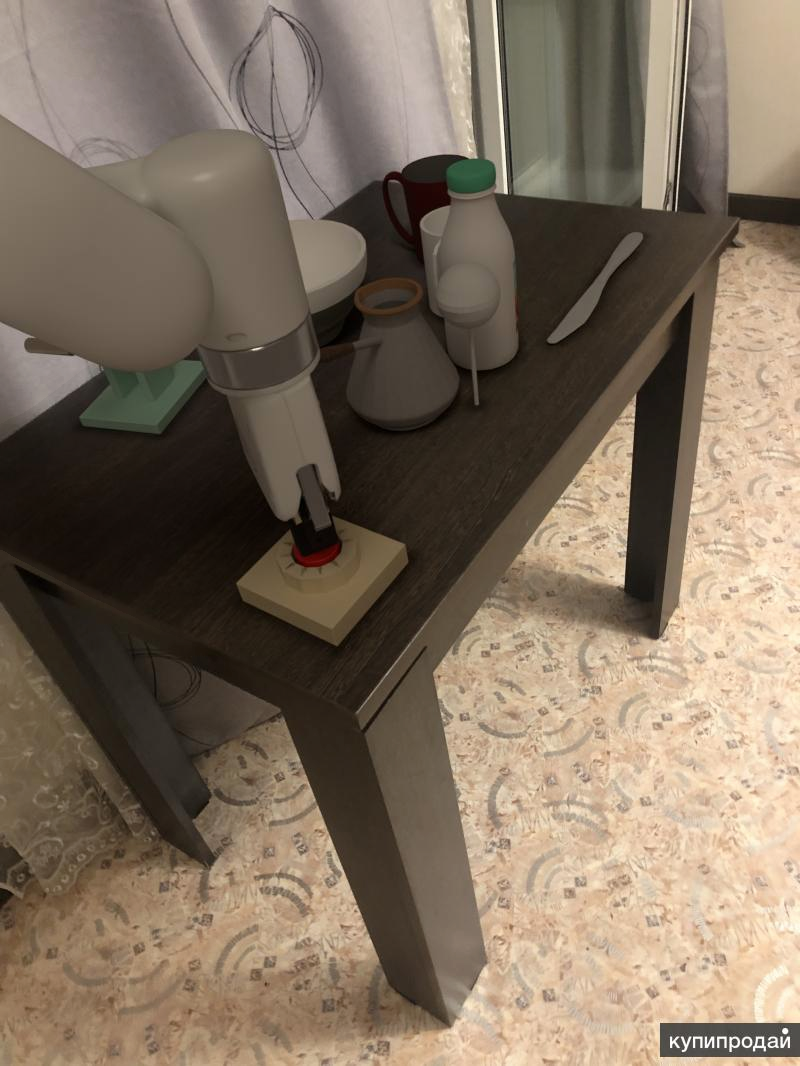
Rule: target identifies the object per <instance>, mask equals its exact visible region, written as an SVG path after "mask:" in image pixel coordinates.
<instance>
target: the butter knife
mask: <svg viewBox="0 0 800 1066" xmlns="http://www.w3.org/2000/svg"><path fill="white" fill-rule="evenodd" d="M643 239H644V235H643V233H642V232H640V231H632V232H630V233H628V234H627V235H626V236H625V237H623V238H622V240H620V243H619V244H618V245H617V247H616V248H615V249H614V251H613V252H612V253H611V255H610V258H609V259H608V261H607V263H606V264H605V265H604V267H603V269H602V270H601V271H600V273H599V274H598V276H597V277H596V278H595V280H594V281H593V283H592V284H591V285H590V286H589V287H588V288H587V290H586V291H585V292H584V293H583V294H582V295H581V297H580V298H579V299H578V300H577V302H576V303H575V304H574V305H573V306H572V307H571V309H569V312H568V313H567V314H566V315H565V316H564V318H563V319H562V321H561V322H560V323H559V325H558V326H557V327H556V329H554V330H553V332H552V333H551V334H550V335H549V336H548V338H547V339H546V342H547V343H548V344H557V343H559V342H561V340H563V339H565V338H566V337H567V336H569V335H570V334H572V333H573V332H574V331H576V330H577V329H578V328H580V327H581V326H583V325H584V324H585V323H586V322H587V320H588V319H589V318H590V316H591V314H592V313H593V311H594V310H595V308H596V306H597V305H598V303H599V301H600V297H601V295H602V292H603V290H604V288H605V286H606V284H607V282H608V280H609V278H610V277H611V276H612V274H613V273H614V272H615V271H616V270H617V268H618V267H619V266H620V265H622V263H623V262H624V261H625V260H627V258H629V257H630V255H631V254H632V253H633V252H634V251H635V250H636V249H637V248H638V247H639V246H640V244H641V243H642V241H643Z"/></svg>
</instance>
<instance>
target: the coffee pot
mask: <svg viewBox="0 0 800 1066" xmlns="http://www.w3.org/2000/svg"><path fill="white" fill-rule="evenodd" d="M423 289H424V288H423V287H422V285H421V284H420V283H419V282H418V281H415V280H414V279H411V278H407V277H388V278H381V279H378V280H374V281H371V282H369V283H367V284H365V285H361V287H360V288H358V289H357V290H356V292H355V297H354V306H355V307H356V309H357V310H358V311H359V312H361V314H362V316H363V318H364V320H363V323H362V327H361V329H360V335H359V339H358V340H355V341H353V342H346V343H339V344H335V345H328V346H322V347H320V348H319V349H320V359H319V362H318V364H319V363H329V362H332V361H335V360H337V359H340V358H342V357H345V356H347V355H350V354H352V353H355V354H354V357H353V362H352V365H351V368H350V373H349V376H348V381H347V383H346V388H345V394H346V400H347V402H348V404H349V405H350V406H351V409H353V411H354V412H355V413H356V414H357V415H358V416H359V417H360V418H362V419H363V420H364V421H365V422H368V423H370V424H372V425H375V426H377V427H378V428H381V429H384V430H387V431H396V432H401V431H405V432H406V431H411V430H416V429H419V428H422V427H424V426H427V425H429V424H430V423H433V422H434V421H435V420H436V419H437V418H438V417H439V416H440V415H441V414H442V413H444V412H445V411H446V410H447V409H448V408H449V407H450V406H451V405H452V403H453V401H454V400H455V398H456V395H457V393H458V391H459V386H460V375H459V373H458V370H457V367H456V365H455V363H454V362H453V361H452V360H451V358H450V357H449V354H448V352H446V350H445V349H444V346H443V345H442V344H441V342H440V341H439V339H438V338H437V336H436V334H435V332H434V331H433V330H432V328H431V327H430V325H429V323H428V322H427V320H426V319H425V318H424V316H423V314H422V313H421V311H420V310H419V305H420V302H421V300H422V299H423V296H424V290H423Z"/></svg>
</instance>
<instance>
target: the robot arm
mask: <svg viewBox="0 0 800 1066" xmlns="http://www.w3.org/2000/svg"><path fill="white" fill-rule="evenodd" d="M278 173H279V172H278V169H277V166H276V163H275V159H274V156H273V154H272V152H271V150H270V149H269V147H268V146H267V145H266V143H265V142H264V141H263V140H262V139H261V138H260V137H259V136H257V135H255V134H253V133H252V132H249V131H246V130H242V129H236V128H235V129H233V128H214V129H207V130H201V131H197V132H192V133H188V134H186V135H182V136H179V137H177V138H174V139H172V140H169V141H167V142H165V143H164V144H162V145H161V146H159V147H157V148H156V149H154V150H153V151H152V152H150V153H149V154H146V155H143V156H139V157H135V158H130V159H126V160H121V161H116V162H112V163H107V164H101V165H95V166H89V167H83V166H81V165H79V164H78V163H76V162H74V161H73V160H71V159H69V158H68V157H67V156H65V155H64V154H62V153H61V152H59V151H57V150H56V149H55V148H54V147H51V146H50V145H48V144H47V143H45V142H43V140H41V139H39V138H37V137H35V135H32V134H31V133H29V132H28V131H26V130H25V129H23V128H22V127H20V126H19V125H17V124H16V123H14V122H13V121H11V120H10V119H8V118H7V117H5V116H3V115H2V114H0V323H1V324H3V325H5V326H8V327H10V328H12V329H15V330H16V331H19V332H21V333H23V334H25V335H28V336H30V337H32V338H37V339H40V340H42V341H44V342H46V343H49V344H51V345H53V346H55V347H58V348H60V349H62V350H65V351H67V352H69V353H71V354H74V356H76V357H78V358H81V359H83V360H85V361H88V362H91V363H93V364H96V365H99V366H101V367H102V366H103V367H107V368H110V369H114V370H120V371H127V372H150V371H155V370H160V369H164V368H166V367H169V366H171V365H174V364H176V363H178V362H179V361H181V360H185V359H186V358H187V357H188V356H189V355H191V353H193V352H194V351H195V350H196V352H197V354H198V357H199V361H201V363H202V366H203V368H204V371H205V374H206V377H207V378H206V380H207V382H208V384H209V386H210V387H211V388H212V389H213V390H214V391H216V392H219V393H220V394H221V395H225V396H226V398H227V401H228V404H229V407H230V410H231V413H232V417H233V420H234V423H235V426H236V430H237V433H238V436H239V440H240V442H241V447H242V449H243V453H244V455H245V458H246V460H247V463H248V465H249V467H250V469H251V471H252V473H253V475H254V478H255V479H256V482H257V483H258V486H259V488H260V489H261V492H262V494H263V496H264V497H265V499H266V501H267V503H268V505H269V507H270V509H271V511H272V513H273V515H274V516H275V518H277V519H279V520H280V521H282V522H287V523H288V527H289V530H291V533H292V536H293V539H294V542H295V544H296V546H297V548H298V550H299V552H300V554H301V556H303V557H306V556H308V555H311V554H313V553H316V552H318V551H321V550H323V549H326V548H328V547H331V546H333V545H335V544H337V543H338V541H339V540H338V536H337V532H336V528H335V525H334V521H333V517H332V516H333V514H332V510H331V506H330V504H329V502H328V497H327V495H328V496H329V498H330V500H333V501H335V502H337V501H338V500H339V498H340V497H341V493H342V488H341V482H340V477H339V473H338V468H337V463H336V461H335V457H334V453H333V449H332V445H331V442H330V437H329V434H328V430H327V427H326V423H325V420H324V417H323V413H322V409H321V406H320V404H321V403H320V401H319V399H318V397H317V392H316V390H315V385H314V382H313V380H312V376H311V373H313V371H314V370H315V369H316V367H317V366H318V365H319V363H318V362H319V359H320V349H321V348H319V345H318V341H317V337H316V333H315V329H314V325H313V320H312V316H311V312H310V308H309V304H308V300H307V295H306V291H305V287H304V283H303V279H302V274H301V270H300V266H299V262H298V257H297V253H296V249H295V245H294V241H293V236H292V232H291V228H290V224H289V221H290V220H289V215H288V211H287V206H286V203H285V198H284V195H283V191H282V185H281V181H280V178H279V174H278ZM103 367H102V368H103Z"/></svg>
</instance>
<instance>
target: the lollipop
mask: <svg viewBox="0 0 800 1066" xmlns="http://www.w3.org/2000/svg"><path fill="white" fill-rule="evenodd" d="M500 295H501V291H500V285H499V283H498V281H497V279H496V277H495V276H494V274H493V273H492V272H491V271H490V270H489V269H488V268H487V267H485V266H483V265H481V264H479V263H475V262H462V263H459V264H456V265H454V266H452V267H451V268H449V269H448V270H447V271H446V272H445V273H444V274H443V276H442V277H441V278H440V281H439V283H438V285H437V288H436V293H435V301H436V304H437V307H438V310H439V312H440V314H441V315H442V316H443V317H442V318H443V320H444V319H445V320H446V321H447V322H449V323H450V324H451V325H453V326H455V327H458V328H462V329H468V333H469V345H470V356H471V368H472V370H471V379H472V390H473V402H474V405H475V406H479V405H480V397H479V385H478V373H477V370H476V359H475V347H474V334H473V328H477V327H479V326H482V325H483V324H485V323H486V322H488V321H489V320H490V319H491V318H492V317H493V315H494V314H495V312H496V310H497V308H498V305H499V302H500Z"/></svg>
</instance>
